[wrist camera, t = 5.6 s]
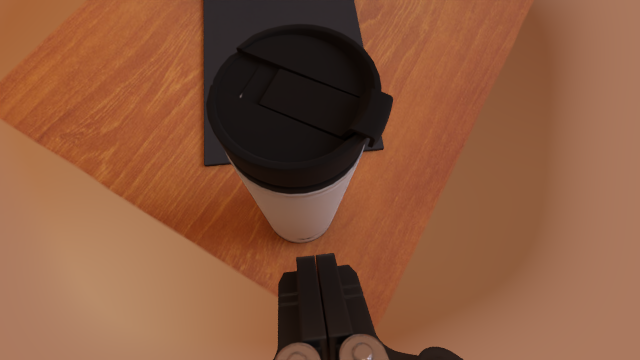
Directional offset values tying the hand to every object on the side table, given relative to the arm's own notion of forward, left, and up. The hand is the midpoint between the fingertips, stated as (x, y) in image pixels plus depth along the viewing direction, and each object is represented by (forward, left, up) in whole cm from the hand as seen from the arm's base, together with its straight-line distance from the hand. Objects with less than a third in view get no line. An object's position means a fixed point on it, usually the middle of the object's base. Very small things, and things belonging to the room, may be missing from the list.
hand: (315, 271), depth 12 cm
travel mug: (+5, +3, -16) cm, 17 cm away
